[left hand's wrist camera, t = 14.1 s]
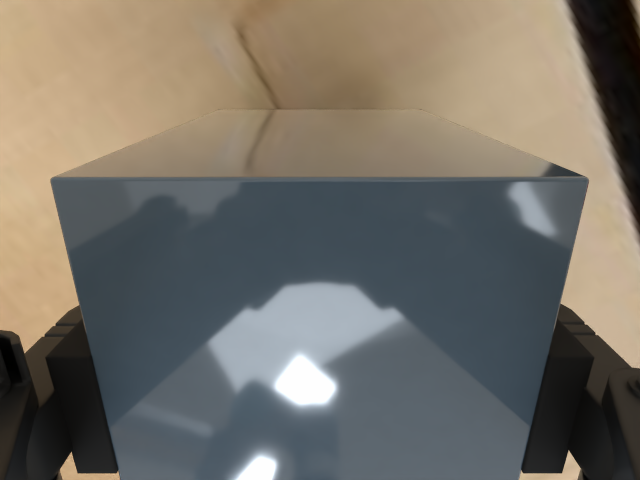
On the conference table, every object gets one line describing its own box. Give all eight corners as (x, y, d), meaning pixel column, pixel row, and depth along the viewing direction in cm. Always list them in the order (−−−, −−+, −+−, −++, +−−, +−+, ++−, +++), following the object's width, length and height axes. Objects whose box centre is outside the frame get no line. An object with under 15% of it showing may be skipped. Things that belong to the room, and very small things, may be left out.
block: (422, 109, 17) (592, 177, 6) (405, 312, 20) (497, 577, 10) (217, 109, 17) (47, 178, 6) (234, 312, 20) (142, 577, 10)
